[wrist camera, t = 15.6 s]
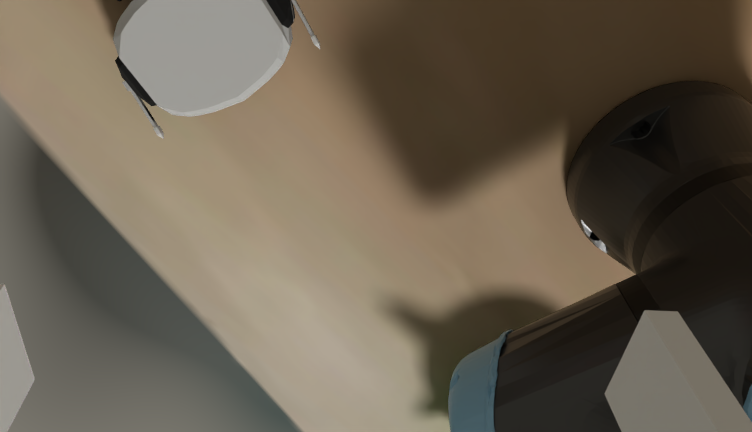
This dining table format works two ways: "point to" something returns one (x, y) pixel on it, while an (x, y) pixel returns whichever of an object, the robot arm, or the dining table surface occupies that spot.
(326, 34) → the dining table surface
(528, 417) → the robot arm
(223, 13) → the robot toy
